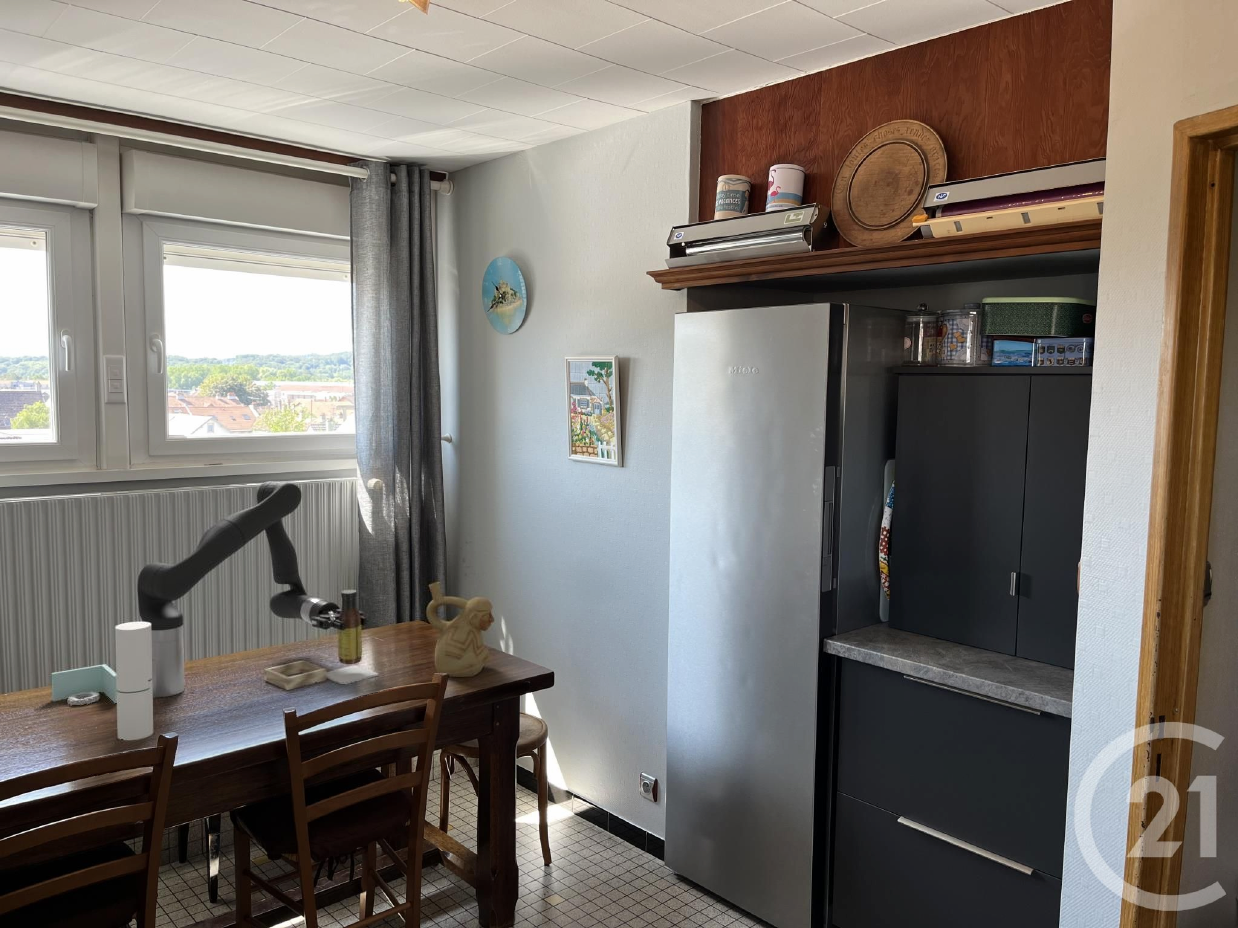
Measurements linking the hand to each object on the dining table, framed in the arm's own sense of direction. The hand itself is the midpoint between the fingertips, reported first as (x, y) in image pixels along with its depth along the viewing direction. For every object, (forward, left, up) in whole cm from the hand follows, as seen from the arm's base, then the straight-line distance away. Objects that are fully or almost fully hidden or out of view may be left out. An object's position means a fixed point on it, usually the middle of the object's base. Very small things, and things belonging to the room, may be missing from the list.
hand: (354, 624), depth 251 cm
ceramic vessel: (+24, -16, -15) cm, 32 cm away
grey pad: (0, +2, -15) cm, 15 cm away
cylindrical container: (-57, 0, -15) cm, 59 cm away
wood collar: (-12, +9, -15) cm, 21 cm away
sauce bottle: (0, +3, -11) cm, 12 cm away
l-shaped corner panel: (-56, +31, -16) cm, 66 cm away
